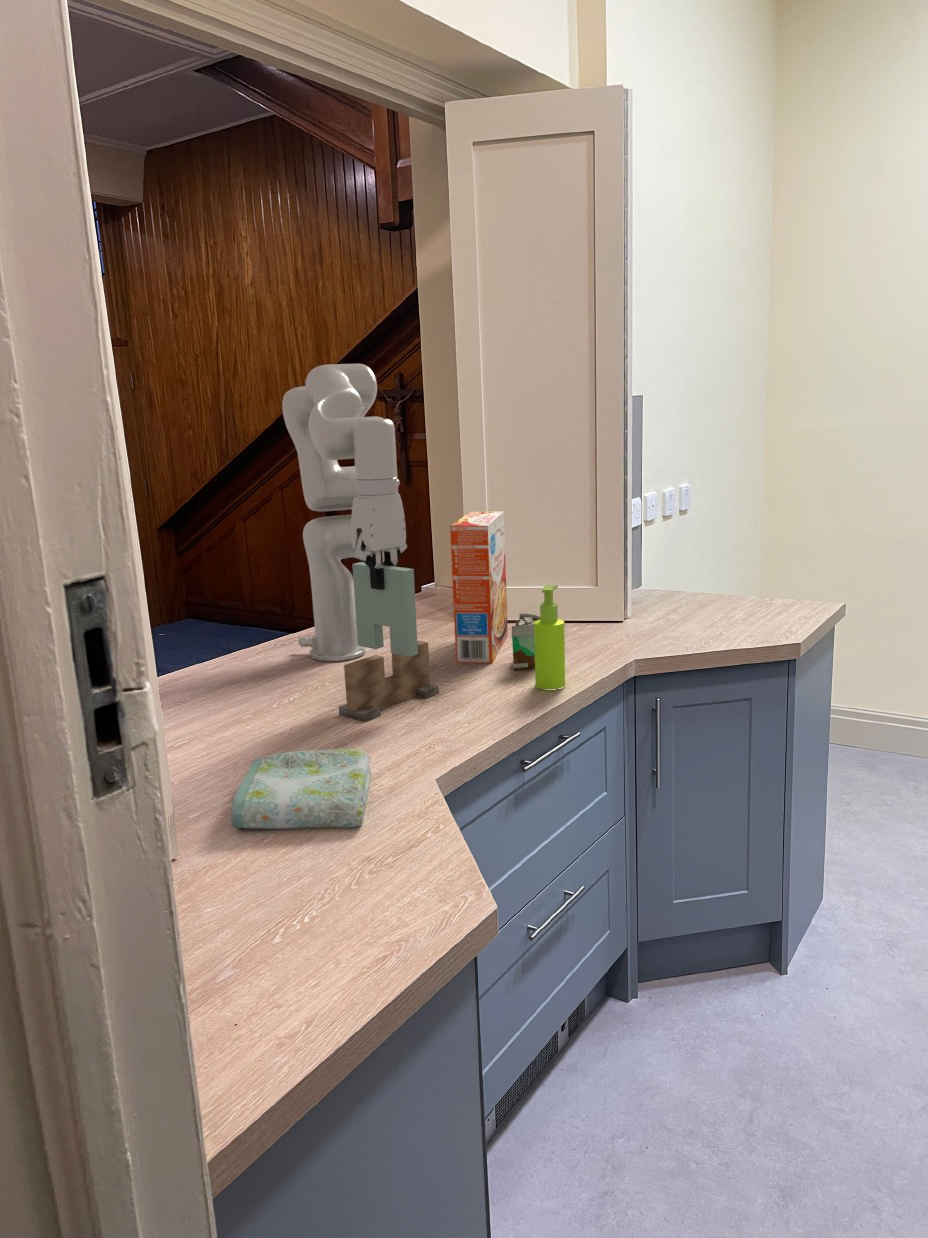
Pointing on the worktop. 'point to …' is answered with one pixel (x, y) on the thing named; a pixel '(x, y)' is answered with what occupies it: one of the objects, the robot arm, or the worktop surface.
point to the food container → (524, 642)
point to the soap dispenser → (549, 644)
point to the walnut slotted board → (385, 683)
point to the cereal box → (479, 586)
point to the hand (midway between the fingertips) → (383, 586)
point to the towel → (304, 790)
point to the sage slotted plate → (386, 609)
